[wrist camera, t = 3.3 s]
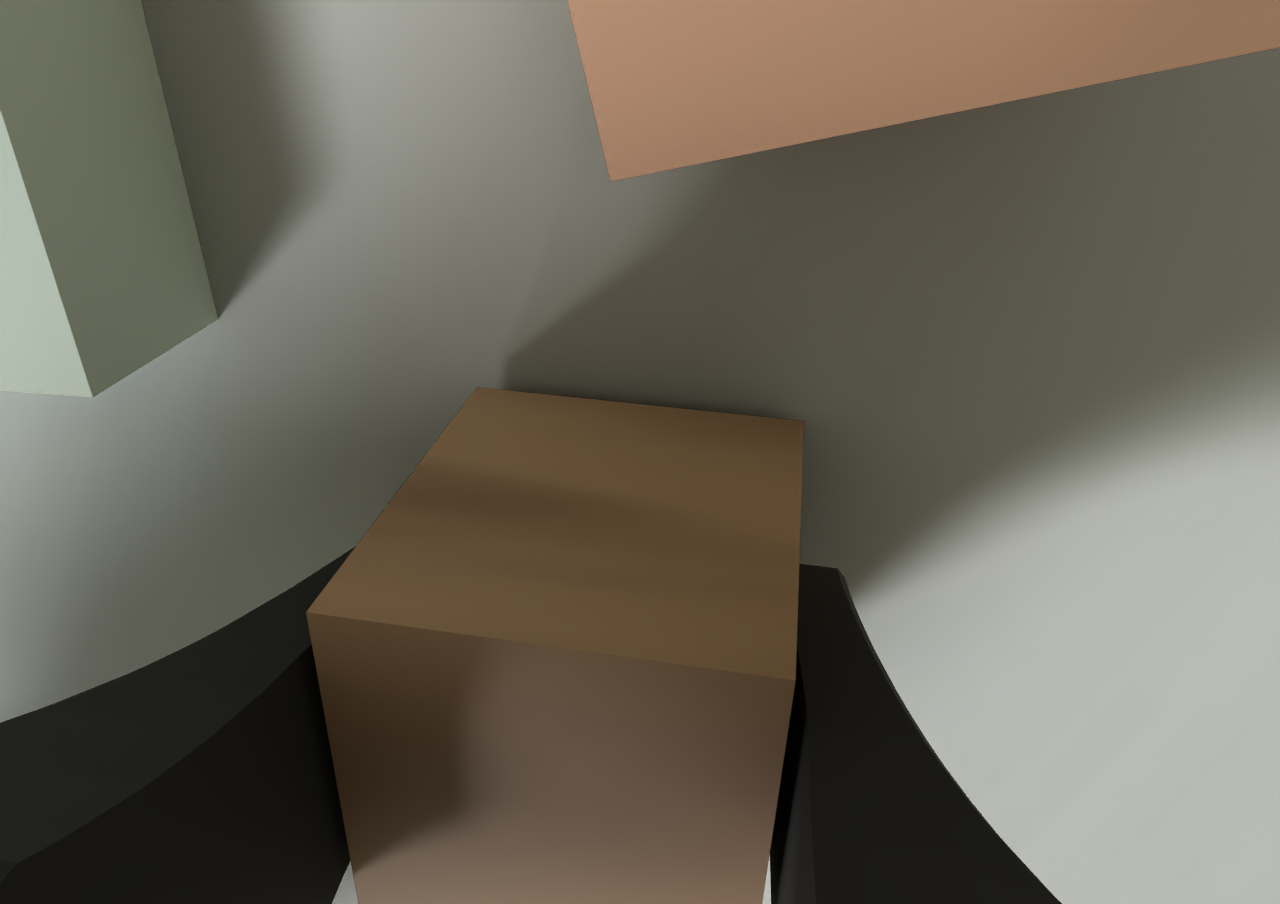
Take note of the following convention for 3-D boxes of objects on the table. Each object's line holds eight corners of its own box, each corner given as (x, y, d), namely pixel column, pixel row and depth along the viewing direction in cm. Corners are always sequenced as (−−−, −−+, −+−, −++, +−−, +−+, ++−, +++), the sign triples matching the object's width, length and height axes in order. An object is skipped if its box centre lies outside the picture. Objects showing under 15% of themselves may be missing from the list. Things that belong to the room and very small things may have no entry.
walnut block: (770, 677, 15) (749, 989, 10) (491, 638, 15) (360, 918, 11) (804, 421, 12) (796, 680, 8) (477, 387, 13) (306, 613, 9)
